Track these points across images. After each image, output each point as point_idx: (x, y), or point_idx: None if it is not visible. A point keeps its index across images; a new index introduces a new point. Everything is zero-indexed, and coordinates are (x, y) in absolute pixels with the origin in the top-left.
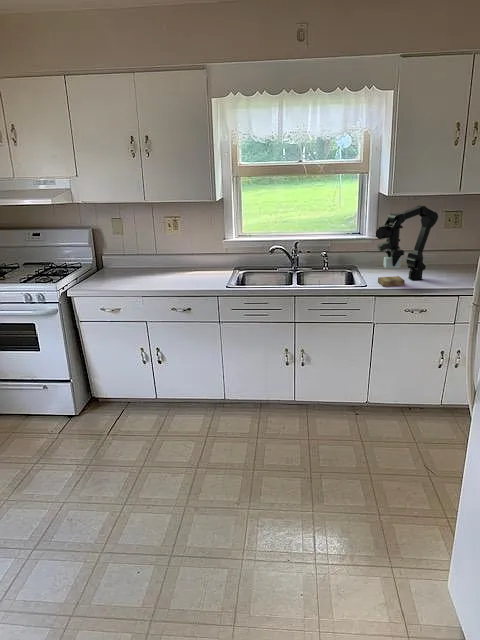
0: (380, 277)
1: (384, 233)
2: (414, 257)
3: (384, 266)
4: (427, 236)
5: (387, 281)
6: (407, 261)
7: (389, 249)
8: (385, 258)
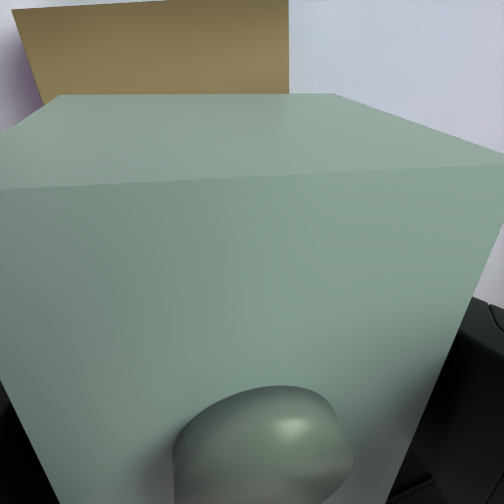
0: (273, 33)
1: None
2: None
3: (222, 96)
4: None
5: (40, 89)
6: (407, 460)
7: None
8: (188, 183)
